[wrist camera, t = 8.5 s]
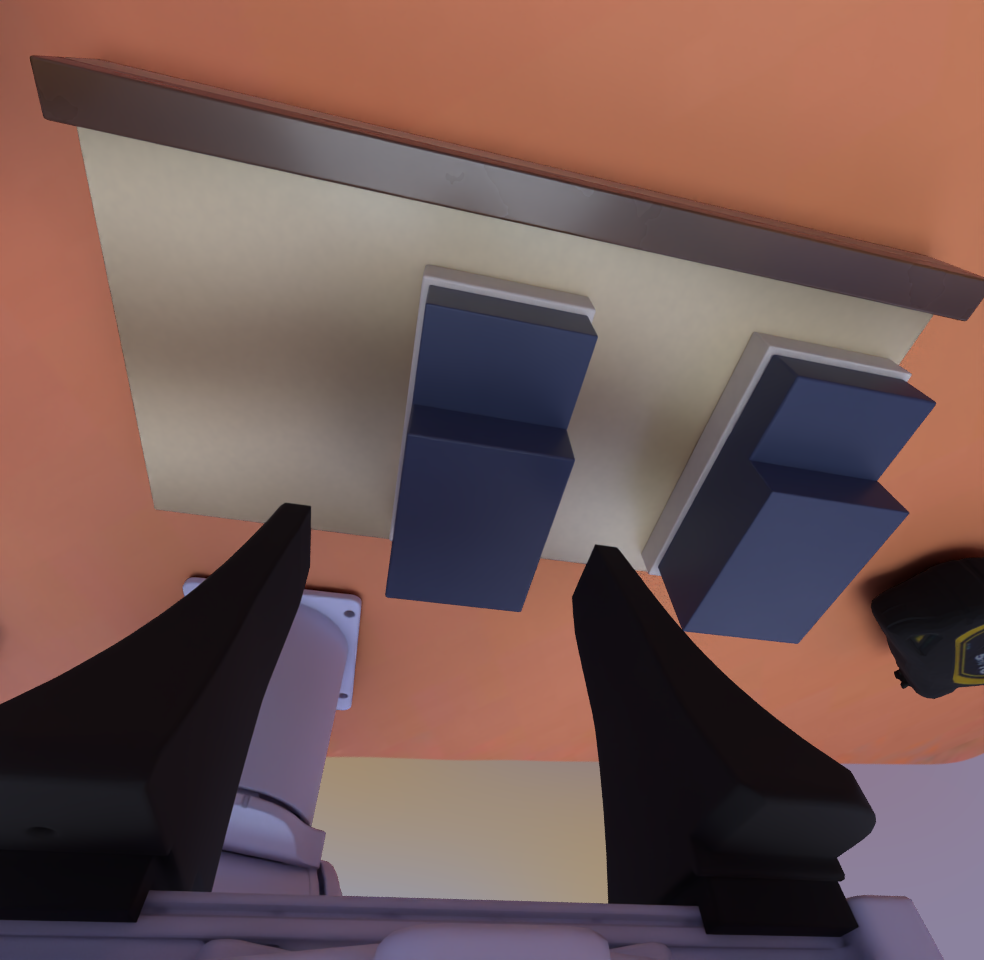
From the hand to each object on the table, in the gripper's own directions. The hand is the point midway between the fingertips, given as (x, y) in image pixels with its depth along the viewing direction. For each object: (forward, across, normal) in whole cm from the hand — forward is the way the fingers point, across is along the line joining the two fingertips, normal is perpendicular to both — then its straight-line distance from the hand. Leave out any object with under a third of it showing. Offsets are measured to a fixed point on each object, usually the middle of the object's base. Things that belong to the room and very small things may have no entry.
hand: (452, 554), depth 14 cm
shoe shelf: (+8, -2, -1) cm, 8 cm away
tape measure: (+8, -25, +7) cm, 27 cm away
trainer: (+6, -1, 0) cm, 7 cm away
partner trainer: (+6, -11, 0) cm, 13 cm away
